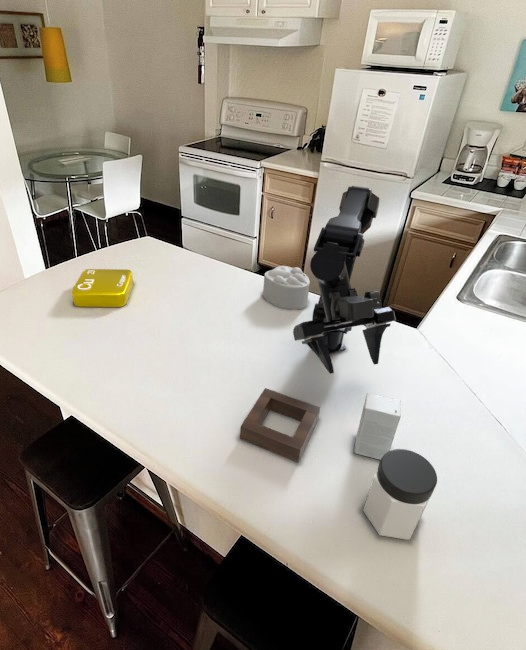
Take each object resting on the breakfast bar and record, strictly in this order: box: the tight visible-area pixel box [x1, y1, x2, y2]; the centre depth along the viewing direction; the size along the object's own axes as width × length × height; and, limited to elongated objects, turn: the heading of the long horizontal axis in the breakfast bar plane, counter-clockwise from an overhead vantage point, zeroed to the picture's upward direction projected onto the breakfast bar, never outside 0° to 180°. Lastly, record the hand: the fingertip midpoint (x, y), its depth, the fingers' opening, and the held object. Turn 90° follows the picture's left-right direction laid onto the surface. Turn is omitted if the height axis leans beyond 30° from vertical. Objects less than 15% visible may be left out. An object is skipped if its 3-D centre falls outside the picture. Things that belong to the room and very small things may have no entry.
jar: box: [362, 448, 438, 541], centre depth 70 cm, size 9×8×12 cm
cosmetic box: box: [353, 392, 402, 461], centre depth 81 cm, size 6×4×12 cm
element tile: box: [71, 268, 134, 308], centre depth 129 cm, size 15×15×5 cm
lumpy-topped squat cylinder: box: [262, 265, 311, 311], centre depth 126 cm, size 10×13×9 cm
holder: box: [239, 387, 321, 463], centre depth 87 cm, size 12×12×4 cm
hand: (354, 368), depth 83 cm, fingers open, 9 cm apart
